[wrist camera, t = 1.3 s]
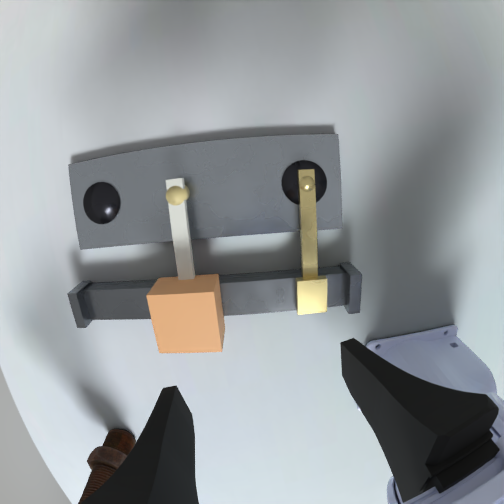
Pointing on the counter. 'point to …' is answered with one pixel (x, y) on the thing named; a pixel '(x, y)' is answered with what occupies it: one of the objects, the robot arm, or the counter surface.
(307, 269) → the rail
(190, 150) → the hole plate
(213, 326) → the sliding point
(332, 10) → the counter surface
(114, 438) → the bolt
